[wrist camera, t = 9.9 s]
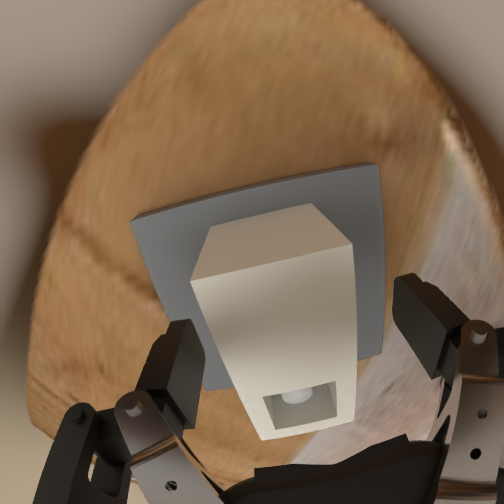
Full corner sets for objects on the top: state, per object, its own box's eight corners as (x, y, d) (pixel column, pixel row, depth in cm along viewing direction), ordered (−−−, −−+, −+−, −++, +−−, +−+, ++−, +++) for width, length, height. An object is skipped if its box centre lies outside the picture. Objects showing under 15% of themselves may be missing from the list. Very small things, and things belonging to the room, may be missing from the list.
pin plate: (369, 162, 14) (432, 178, 9) (376, 343, 20) (406, 400, 14) (136, 215, 15) (84, 257, 9) (207, 380, 20) (199, 443, 15)
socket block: (311, 203, 14) (352, 243, 8) (331, 354, 18) (354, 420, 13) (210, 226, 14) (189, 281, 9) (257, 370, 18) (261, 440, 13)
